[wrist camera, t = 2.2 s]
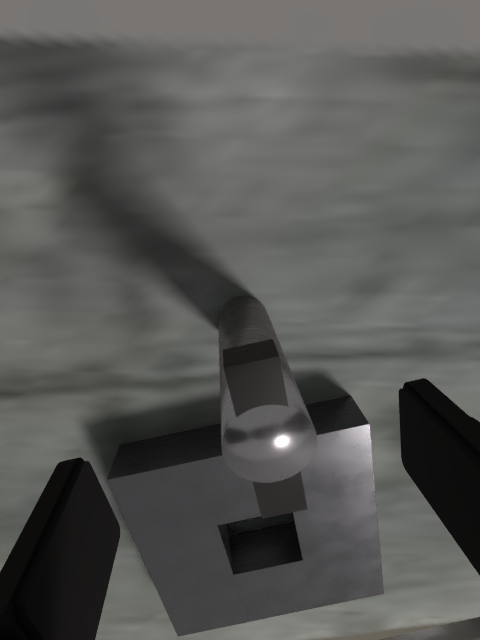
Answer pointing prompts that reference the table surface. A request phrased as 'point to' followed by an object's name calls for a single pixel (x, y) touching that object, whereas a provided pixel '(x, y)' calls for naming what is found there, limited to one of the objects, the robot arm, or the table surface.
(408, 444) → the robot arm
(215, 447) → the block
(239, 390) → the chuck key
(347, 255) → the table surface
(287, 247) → the table surface
